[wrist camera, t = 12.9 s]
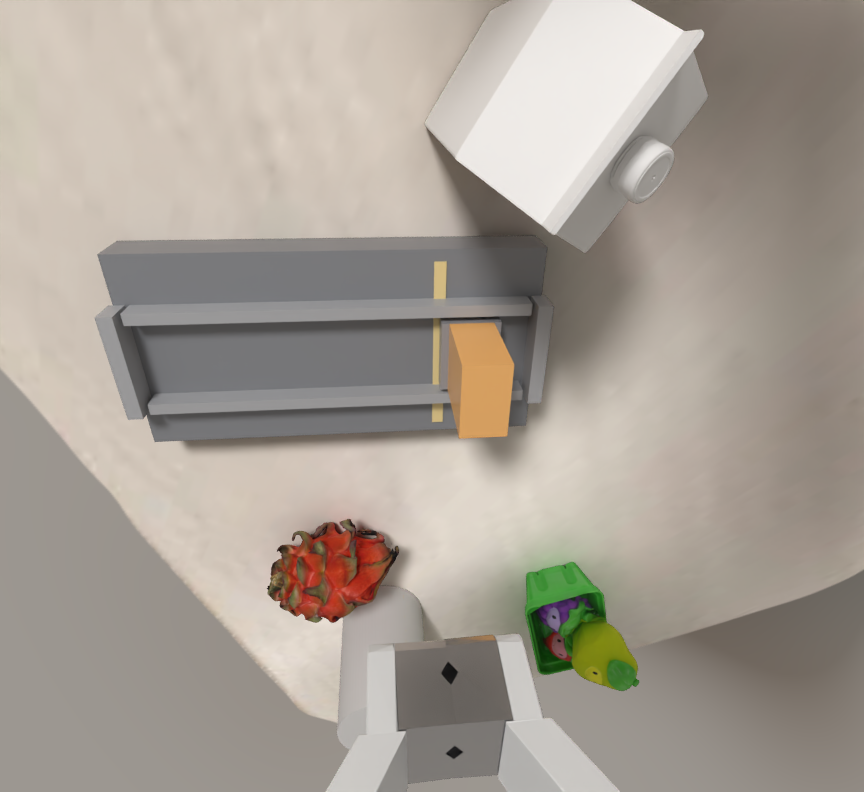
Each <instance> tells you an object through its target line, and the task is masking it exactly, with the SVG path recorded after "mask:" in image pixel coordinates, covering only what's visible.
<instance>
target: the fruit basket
mask: <svg viewBox="0 0 864 792" xmlns="http://www.w3.org/2000/svg"><path fill="white" fill-rule="evenodd" d="M526 587H527V604H526V606H525V616H526V620H527V624H528V628H529V632H530V636H531V641H532V646H533V650H534V654H535V659H536V663H537V668H538V672H539V673H540V674H543V675H549V674H553V673H557V672H561V671H566V670H571V669H575V671H576V672H577V673H578V674H579V675H580V676H581V677H583V678H584V679H586V680H589V681H592V682H594V683H597V684H599V685H603V686H607V687H609V688H612V689H616V690H619V691H624V690H627V689H629V688H630V687H631V685H633V686H635V687H636V686H637V685H638V683H639V680H637V679H636V675H637V670H638V666H637V662H636V660H635V659H634V657H633V656H632V654H631V653H630V652H629V650H628V648H627V646H626V644H625V641H624V639H623V638H622V636H621V634H620V633H619V632H618V631H617V630H616V629H615V628H614V627H613V626H611V625H610V624H608V623H607V621H606V612H605V603H604V595H603V593H602V592H601V591H600V590H599V589H598V588H597V587H595V586H594V585H593V584H592V583H591V582H590V580H589V579H588V578H587V577H586V576H585V575H584V573H583V572H582V571H581V570H580V568H579V567H578V566H577V565H576V564H575V563H574V562H571V563H568V564H566V565H565V566H563V565H559V566H555V567H550V568H546V569H542V570H540V571H538V572H537V573H536V572H530V573H527V575H526Z"/></svg>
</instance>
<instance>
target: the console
mask: <svg viewBox="0 0 864 792" xmlns="http://www.w3.org/2000/svg"><path fill="white" fill-rule="evenodd" d="M546 253H547V247H546V246H545V245H544V244H543V243H542V242H541V241H540V240H539V239H538V238H537V237H536V236H462V237H386V238H310V239H234V240H158V241H116V242H115V243H113V244H112V245H110V246H109V247H107V248H106V249H105V250H103V251H102V252H100V253H99V254H97V255H98V258H99V261H100V265H101V268H102V271H103V275H104V278H105V281H106V284H107V288H108V291H109V294H110V297H111V301H112V304H113V306H107V307H106V308H105V309H104V310H103V311H102V312H100V313H99V314H98V315H97V316H96V317H95V321H96V324H97V327H98V330H99V333H100V336H101V339H102V342H103V345H104V348H105V351H106V354H107V357H108V360H109V363H110V366H111V370H112V373H113V376H114V379H115V382H116V385H117V388H118V391H119V394H120V397H121V400H122V403H123V406H124V409H125V412H126V415H127V418H128V420H131V419H144V417H145V416H146V415H147V418H148V421H149V425H150V428H151V431H152V434H153V438H154V441H155V442H163V441H185V440H208V439H231V438H254V437H276V436H299V435H322V434H345V433H368V432H390V431H413V430H436V429H457V428H456V423H455V419H454V415H453V411H452V406H451V402H450V398H449V394H448V389H443V390H440V385H439V333H440V318H455V317H493V316H499V318H500V320H501V322H502V325H501V338H502V340H503V342H504V344H505V346H506V348H507V350H508V352H509V354H510V356H511V358H512V361H513V363H514V374H513V384H512V394H511V404H510V413H509V423H508V426H526V419H527V411H528V403H541V400H542V392H543V385H544V377H545V370H546V362H547V355H548V348H549V340H550V333H551V325H552V318H553V310H554V306H553V305H552V303H551V302H550V301H549V299H548V298H547V297H546V296H541V295H542V287H543V278H544V270H545V262H546Z"/></svg>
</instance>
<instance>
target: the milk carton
mask: <svg viewBox="0 0 864 792" xmlns="http://www.w3.org/2000/svg"><path fill="white" fill-rule="evenodd" d="M703 36H704V32H703V31H702V30H701V29H700V30H691V31H683V30H682V29H680V28H678V27H676V26H675V25H673V24H671V23H669V22H668V21H666V20H664V19H662V18H661V17H659V16H657V15H655V14H654V13H652V12H650V11H649V10H647V9H645V8H643V7H642V6H640V5H638V4H636V3H635V2H633V1H631V0H511V1H509V2H507V3H505V4H503V5H500V6H498V7H496V8H494V9H492V10H491V11H490V12H489V14H488V15H487V17H486V19H485V20H484V22H483V24H482V25H481V27H480V29H479V30H478V32H477V34H476V36H475V37H474V39H473V41H472V42H471V44H470V46H469V47H468V49H467V51H466V53H465V54H464V56H463V58H462V59H461V61H460V63H459V65H458V66H457V68H456V70H455V71H454V73H453V75H452V76H451V78H450V80H449V82H448V83H447V85H446V87H445V88H444V90H443V92H442V93H441V95H440V97H439V99H438V100H437V102H436V104H435V105H434V107H433V109H432V111H431V112H430V114H429V116H428V118H427V119H426V121H425V126H426V127H427V128H428V129H429V131H430V132H431V133H432V134H433V135H434V136H435V137H436V138H437V139H438V140H439V141H440V142H441V143H442V145H443V146H444V147H445V148H446V149H447V150H448V151H449V152H450V153H451V154H452V155H453V156H454V158H455V159H456V160H457V161H458V162H460V163H461V164H462V165H463V166H465V167H466V168H467V169H469V170H470V171H471V172H473V173H474V174H475V175H477V176H478V177H479V178H480V179H482V180H483V181H484V182H486V183H487V184H488V185H490V186H491V187H492V188H493V189H495V190H496V191H497V192H499V193H500V194H501V195H503V196H504V197H505V198H506V199H508V200H509V201H510V202H512V203H513V204H514V205H516V206H517V207H518V208H519V209H521V210H522V211H523V212H525V213H526V214H527V215H529V216H530V217H531V218H532V219H534V220H535V221H536V222H538V223H539V224H540V225H542V226H543V227H544V228H545V229H546V230H547V231H548V232H549V233H551V234H552V235H557V236H558V237H560V238H562V239H563V240H565V241H566V242H568V243H570V244H571V245H573V246H574V247H576V248H578V249H579V250H581V251H582V252H584V253H586V252H587V251H588V250H589V249H590V248H591V247H592V246H593V244H594V243H595V242H596V241H597V239H598V238H599V237H600V236H601V234H602V233H603V232H604V231H605V229H606V228H607V227H608V226H609V225H610V223H611V222H612V221H613V219H614V218H615V217H616V215H617V214H618V213H619V212H620V210H621V209H622V208H623V207H624V205H625V204H626V203H627V201H628V200H630V201H631V202H633V203H636V204H638V203H641V202H643V201H645V200H646V199H648V198H649V197H650V196H651V195H652V194H653V193H654V192H655V191H656V190H657V189H658V188H659V186H660V185H661V184H662V183H663V181H664V180H665V178H666V177H667V175H668V173H669V172H670V170H671V168H672V165H673V162H674V152H673V150H672V149H671V148H670V147H671V146H672V144H673V143H674V142H675V141H676V139H677V138H678V137H679V136H680V134H681V133H682V132H683V130H684V129H685V128H686V127H687V125H688V124H689V123H690V121H691V120H692V119H693V117H694V116H695V115H696V113H697V112H698V111H699V110H700V108H701V107H702V106H703V104H704V103H705V102H706V100H707V98H708V94H707V91H706V88H705V85H704V82H703V79H702V75H701V72H700V69H699V66H698V63H697V60H696V57H695V54H694V51H693V50H694V49H695V48H696V46H697V45H698V44H699V42H700V41H701V40H702V38H703Z"/></svg>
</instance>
